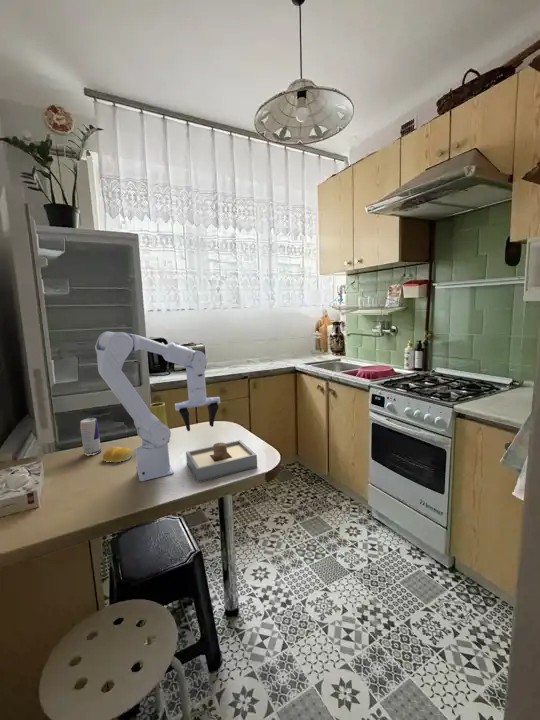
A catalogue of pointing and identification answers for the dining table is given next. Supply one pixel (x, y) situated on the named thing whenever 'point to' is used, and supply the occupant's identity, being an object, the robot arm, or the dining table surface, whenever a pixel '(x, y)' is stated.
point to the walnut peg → (220, 451)
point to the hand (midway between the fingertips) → (200, 428)
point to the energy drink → (90, 435)
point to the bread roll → (117, 454)
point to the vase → (159, 412)
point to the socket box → (208, 469)
